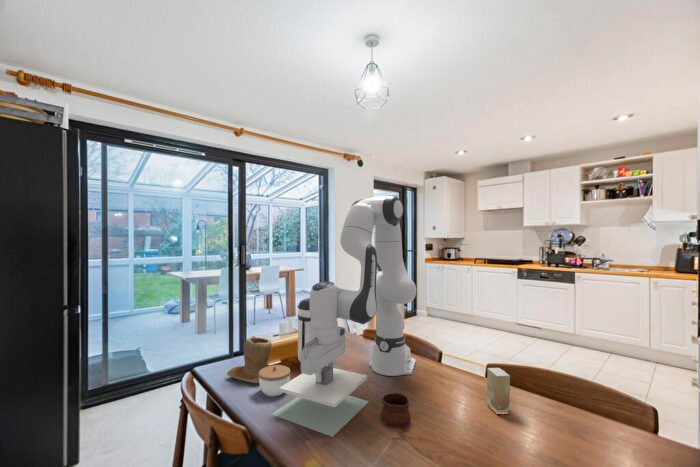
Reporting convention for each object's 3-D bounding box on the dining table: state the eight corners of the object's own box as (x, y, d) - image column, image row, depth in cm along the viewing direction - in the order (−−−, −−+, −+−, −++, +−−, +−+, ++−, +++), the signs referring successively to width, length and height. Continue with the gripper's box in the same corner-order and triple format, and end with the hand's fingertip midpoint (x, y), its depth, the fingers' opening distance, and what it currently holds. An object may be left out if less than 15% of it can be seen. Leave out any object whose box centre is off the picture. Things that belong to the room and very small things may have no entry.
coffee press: (285, 365, 136) (286, 294, 137) (310, 354, 150) (311, 289, 150) (316, 375, 126) (317, 298, 127) (340, 363, 140) (341, 293, 140)
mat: (314, 387, 117) (314, 385, 117) (369, 402, 106) (369, 401, 106) (271, 415, 98) (271, 414, 98) (332, 438, 87) (332, 436, 87)
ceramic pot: (425, 445, 85) (424, 417, 85) (359, 434, 89) (359, 408, 90) (427, 411, 102) (427, 388, 102) (372, 404, 107) (372, 382, 107)
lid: (317, 367, 116) (316, 353, 116) (367, 378, 106) (366, 363, 106) (278, 391, 98) (278, 374, 98) (334, 407, 89) (334, 389, 89)
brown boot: (277, 376, 126) (278, 337, 126) (255, 388, 115) (256, 346, 115) (249, 368, 133) (249, 331, 133) (225, 379, 122) (226, 339, 123)
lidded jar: (282, 403, 105) (283, 374, 106) (252, 399, 108) (252, 370, 108) (294, 388, 116) (295, 361, 116) (267, 385, 118) (267, 359, 118)
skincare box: (486, 405, 105) (486, 367, 105) (499, 404, 106) (499, 367, 106) (496, 415, 99) (496, 375, 99) (510, 415, 99) (510, 375, 99)
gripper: (312, 345, 92) (313, 394, 92) (348, 327, 109) (348, 367, 109) (295, 342, 95) (295, 389, 95) (332, 324, 113) (333, 364, 113)
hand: (324, 377), depth 102 cm, fingers closed on lid, 4 cm apart
